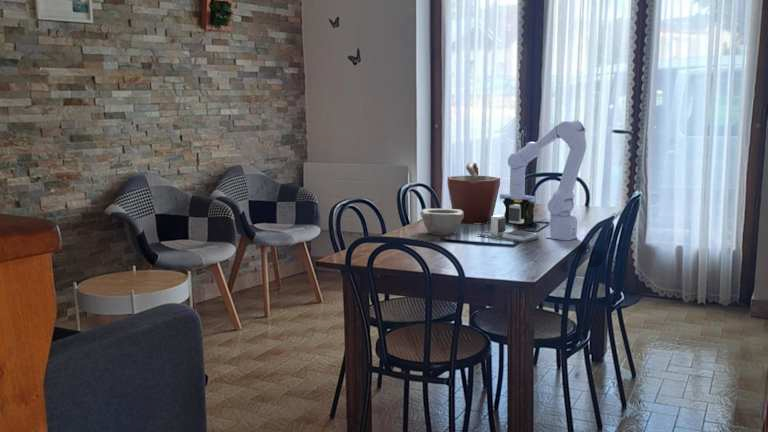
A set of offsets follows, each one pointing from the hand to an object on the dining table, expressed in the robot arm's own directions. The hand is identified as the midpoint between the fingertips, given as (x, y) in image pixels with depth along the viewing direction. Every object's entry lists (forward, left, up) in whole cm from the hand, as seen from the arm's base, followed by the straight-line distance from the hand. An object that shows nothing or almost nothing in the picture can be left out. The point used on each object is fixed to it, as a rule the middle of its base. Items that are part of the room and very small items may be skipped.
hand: (516, 218), depth 281 cm
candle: (+9, -19, -6) cm, 22 cm away
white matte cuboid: (0, 0, -2) cm, 2 cm away
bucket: (+28, -11, -6) cm, 31 cm away
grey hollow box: (-3, +12, -5) cm, 13 cm away
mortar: (+21, +21, -6) cm, 30 cm away
